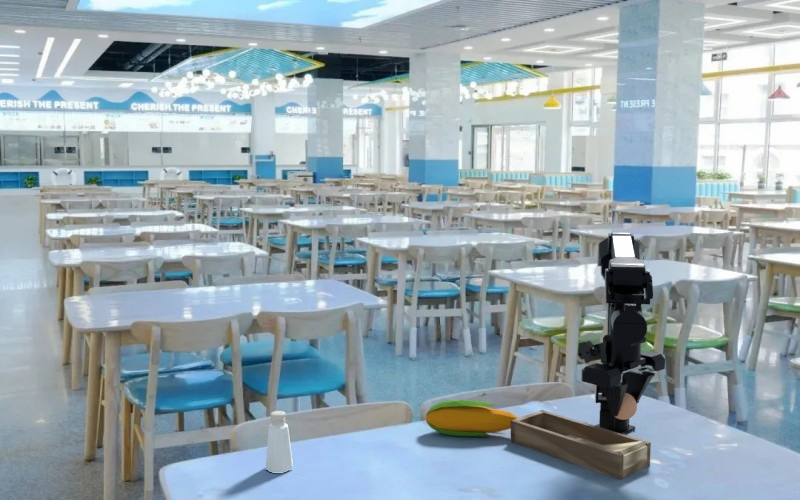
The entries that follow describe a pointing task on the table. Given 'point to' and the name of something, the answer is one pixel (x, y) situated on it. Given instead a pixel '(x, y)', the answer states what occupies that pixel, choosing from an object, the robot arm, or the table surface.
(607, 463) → the brown wooden open box
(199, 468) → the table surface
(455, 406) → the corn
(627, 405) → the ball
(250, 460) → the table surface
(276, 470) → the pepper shaker
